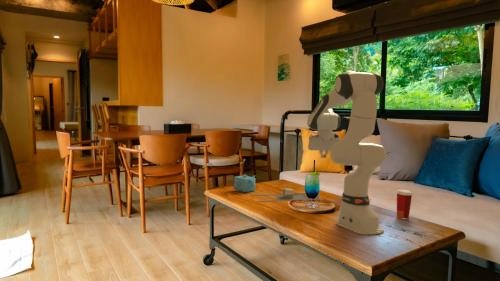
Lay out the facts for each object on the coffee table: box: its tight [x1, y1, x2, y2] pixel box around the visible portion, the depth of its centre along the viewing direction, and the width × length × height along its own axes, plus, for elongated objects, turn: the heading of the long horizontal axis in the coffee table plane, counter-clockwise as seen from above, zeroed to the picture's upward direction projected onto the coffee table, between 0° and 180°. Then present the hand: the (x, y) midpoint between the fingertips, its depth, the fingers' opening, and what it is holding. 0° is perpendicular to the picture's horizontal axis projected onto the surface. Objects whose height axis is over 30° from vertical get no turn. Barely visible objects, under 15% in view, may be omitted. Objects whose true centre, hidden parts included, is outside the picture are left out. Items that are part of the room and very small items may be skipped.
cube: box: [282, 187, 295, 198], centre depth 203 cm, size 5×5×5 cm
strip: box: [273, 191, 321, 201], centre depth 205 cm, size 11×26×6 cm, turn 107°
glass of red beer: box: [395, 189, 413, 219], centre depth 172 cm, size 8×8×14 cm
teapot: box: [233, 174, 256, 193], centre depth 216 cm, size 16×18×11 cm
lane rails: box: [249, 192, 321, 203], centre depth 202 cm, size 14×40×1 cm, turn 107°
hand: (323, 157), depth 200 cm, fingers closed
